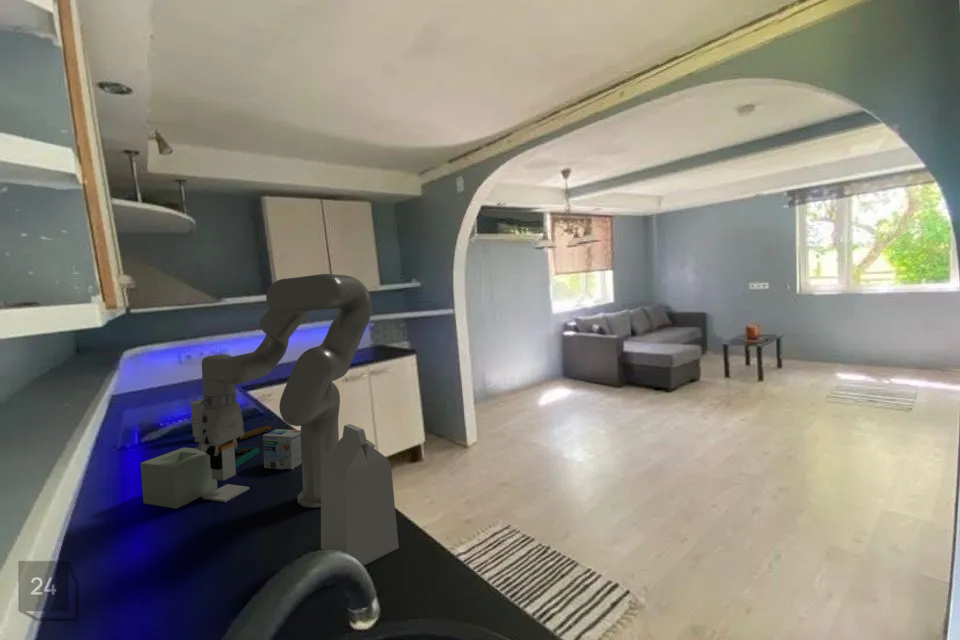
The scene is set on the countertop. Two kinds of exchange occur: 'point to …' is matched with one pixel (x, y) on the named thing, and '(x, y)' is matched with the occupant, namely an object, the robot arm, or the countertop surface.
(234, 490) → the mat
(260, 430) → the tap handle
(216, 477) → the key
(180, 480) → the grey hollow block
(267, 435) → the light bulb box
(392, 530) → the milk
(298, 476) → the countertop surface
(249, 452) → the digital multimeter
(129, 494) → the countertop surface
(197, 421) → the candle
